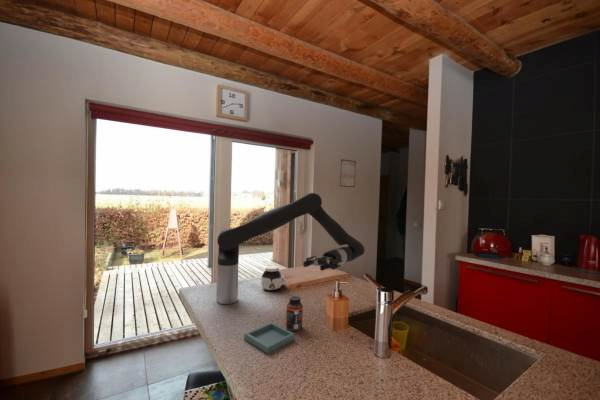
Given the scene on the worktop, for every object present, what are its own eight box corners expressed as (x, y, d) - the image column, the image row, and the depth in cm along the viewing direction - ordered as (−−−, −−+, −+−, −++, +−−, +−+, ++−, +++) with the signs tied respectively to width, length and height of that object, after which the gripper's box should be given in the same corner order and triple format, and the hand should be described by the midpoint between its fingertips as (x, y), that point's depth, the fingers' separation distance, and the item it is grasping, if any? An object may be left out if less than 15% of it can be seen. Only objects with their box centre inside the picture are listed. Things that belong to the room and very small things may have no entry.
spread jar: (260, 291, 140) (260, 268, 140) (266, 284, 151) (266, 263, 151) (282, 292, 138) (283, 269, 138) (287, 285, 149) (288, 264, 149)
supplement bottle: (300, 333, 98) (301, 301, 98) (284, 331, 99) (285, 299, 99) (303, 325, 104) (304, 295, 103) (288, 323, 105) (288, 294, 105)
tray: (244, 340, 92) (244, 333, 92) (271, 328, 101) (271, 322, 101) (267, 354, 84) (267, 347, 84) (294, 340, 93) (294, 333, 93)
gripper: (321, 247, 125) (298, 254, 113) (348, 251, 116) (326, 259, 104) (322, 263, 126) (298, 272, 113) (349, 269, 116) (327, 278, 104)
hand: (312, 266), depth 109 cm, fingers open, 8 cm apart
